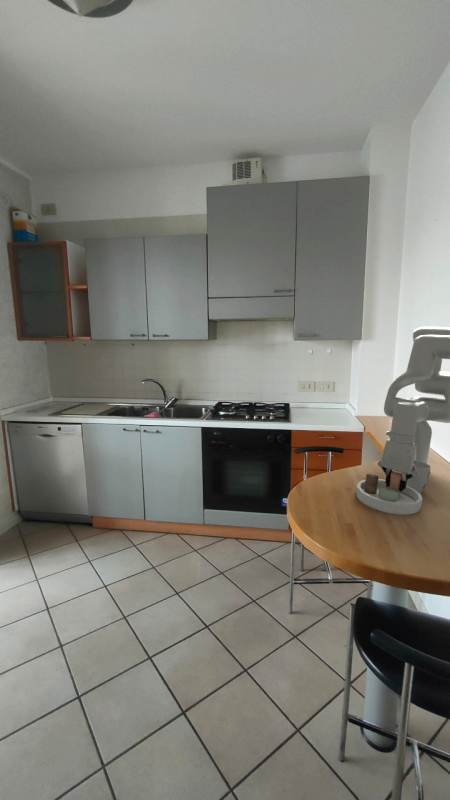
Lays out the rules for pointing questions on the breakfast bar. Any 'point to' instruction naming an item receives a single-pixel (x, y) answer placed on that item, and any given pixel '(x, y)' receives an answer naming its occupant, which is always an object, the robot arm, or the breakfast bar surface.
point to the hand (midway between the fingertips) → (395, 487)
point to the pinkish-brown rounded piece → (395, 480)
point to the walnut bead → (371, 483)
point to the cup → (419, 477)
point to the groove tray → (396, 507)
